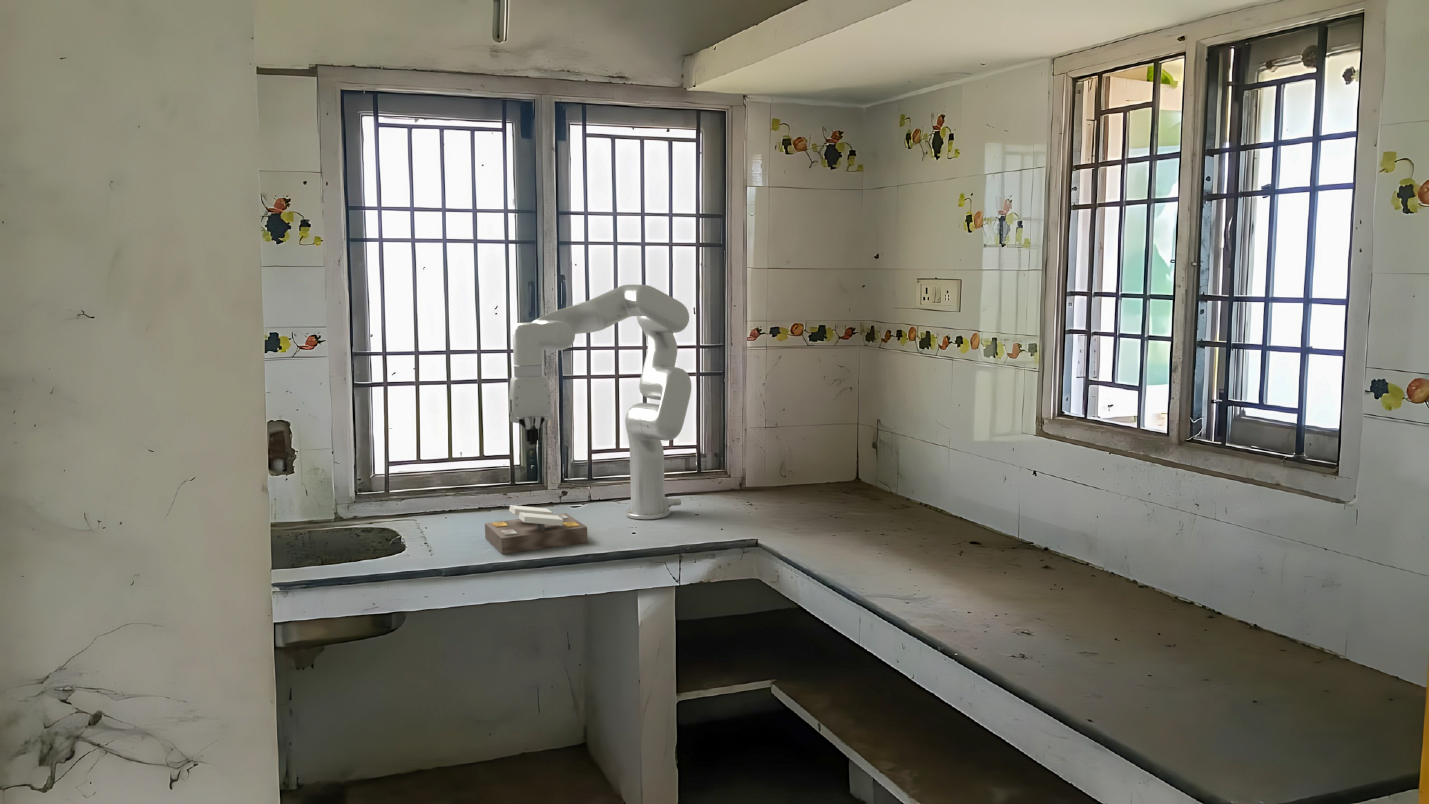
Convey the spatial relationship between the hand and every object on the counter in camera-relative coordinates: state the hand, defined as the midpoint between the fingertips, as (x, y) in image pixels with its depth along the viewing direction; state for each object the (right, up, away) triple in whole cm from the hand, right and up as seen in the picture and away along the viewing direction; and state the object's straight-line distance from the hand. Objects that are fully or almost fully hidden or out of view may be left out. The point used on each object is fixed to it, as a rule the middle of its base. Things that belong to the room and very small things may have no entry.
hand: (532, 443), depth 263 cm
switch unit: (0, -25, +3) cm, 25 cm away
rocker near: (+2, -20, -1) cm, 20 cm away
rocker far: (-2, -19, +7) cm, 20 cm away
